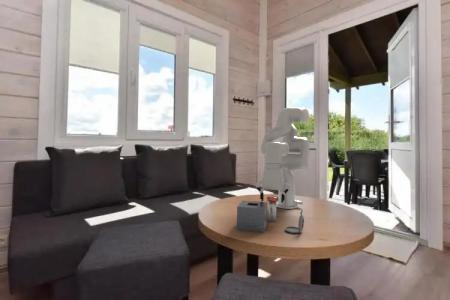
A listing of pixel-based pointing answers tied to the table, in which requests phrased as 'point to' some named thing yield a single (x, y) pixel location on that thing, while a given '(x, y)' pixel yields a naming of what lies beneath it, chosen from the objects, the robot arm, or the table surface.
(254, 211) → the block
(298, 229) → the pocket watch
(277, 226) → the table surface
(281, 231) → the table surface
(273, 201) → the lynch pin
